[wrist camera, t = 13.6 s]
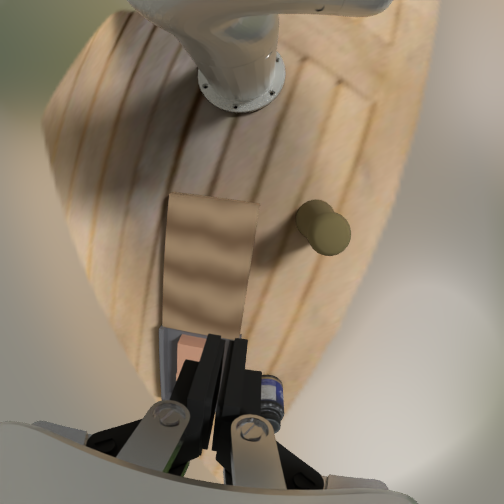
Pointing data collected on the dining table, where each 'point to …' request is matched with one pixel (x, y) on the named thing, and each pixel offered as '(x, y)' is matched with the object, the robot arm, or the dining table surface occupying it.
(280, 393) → the pill bottle
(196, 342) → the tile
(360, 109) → the dining table surface
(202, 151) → the dining table surface
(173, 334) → the tray
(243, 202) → the board
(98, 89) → the dining table surface
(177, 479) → the robot arm
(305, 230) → the cork
